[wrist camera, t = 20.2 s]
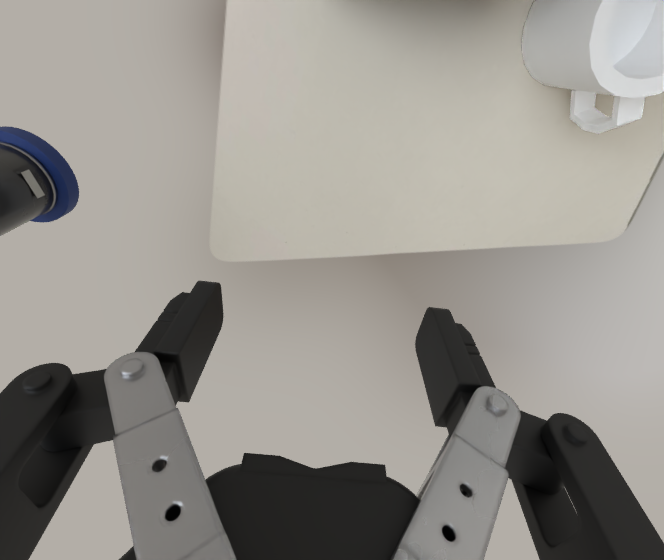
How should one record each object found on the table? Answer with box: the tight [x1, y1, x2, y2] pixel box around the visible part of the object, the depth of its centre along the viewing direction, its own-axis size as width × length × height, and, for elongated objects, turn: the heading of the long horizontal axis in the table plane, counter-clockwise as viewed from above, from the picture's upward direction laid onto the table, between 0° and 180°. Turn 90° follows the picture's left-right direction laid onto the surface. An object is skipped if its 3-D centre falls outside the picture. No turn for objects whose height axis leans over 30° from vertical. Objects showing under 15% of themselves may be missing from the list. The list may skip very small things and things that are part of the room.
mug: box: [521, 0, 664, 134], centre depth 27 cm, size 14×10×11 cm
